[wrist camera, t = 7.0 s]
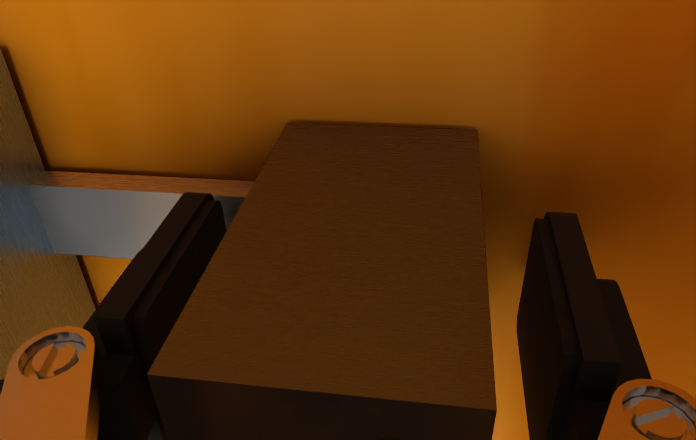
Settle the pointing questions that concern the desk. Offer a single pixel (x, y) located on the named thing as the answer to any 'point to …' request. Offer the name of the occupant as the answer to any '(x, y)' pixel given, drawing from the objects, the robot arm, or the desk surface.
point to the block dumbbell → (282, 282)
